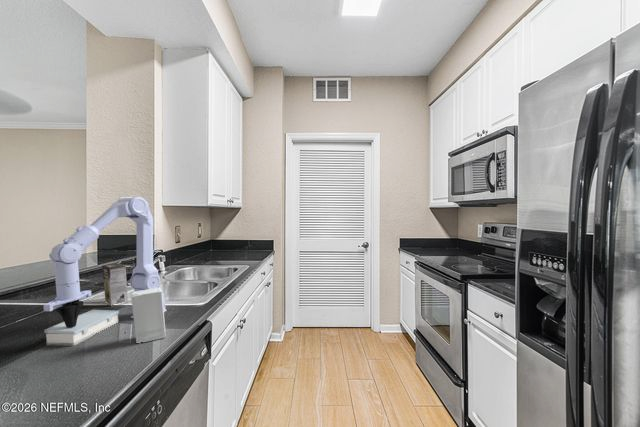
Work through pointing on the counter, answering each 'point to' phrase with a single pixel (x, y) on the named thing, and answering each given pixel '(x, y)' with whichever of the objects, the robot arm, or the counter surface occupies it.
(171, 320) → the counter surface
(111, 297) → the coffee box
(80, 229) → the robot arm
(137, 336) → the skincare box
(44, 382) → the counter surface
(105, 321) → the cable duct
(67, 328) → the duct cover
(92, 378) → the counter surface
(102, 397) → the counter surface
